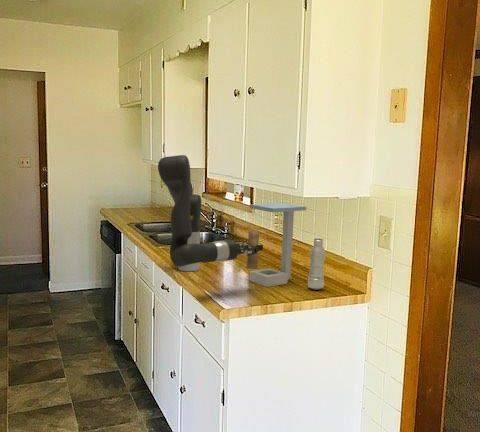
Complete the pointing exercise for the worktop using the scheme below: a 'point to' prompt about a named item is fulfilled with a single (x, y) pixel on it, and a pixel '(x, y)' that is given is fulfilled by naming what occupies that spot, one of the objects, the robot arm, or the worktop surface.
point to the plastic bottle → (316, 265)
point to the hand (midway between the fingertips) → (258, 246)
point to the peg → (252, 240)
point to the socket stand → (280, 277)
